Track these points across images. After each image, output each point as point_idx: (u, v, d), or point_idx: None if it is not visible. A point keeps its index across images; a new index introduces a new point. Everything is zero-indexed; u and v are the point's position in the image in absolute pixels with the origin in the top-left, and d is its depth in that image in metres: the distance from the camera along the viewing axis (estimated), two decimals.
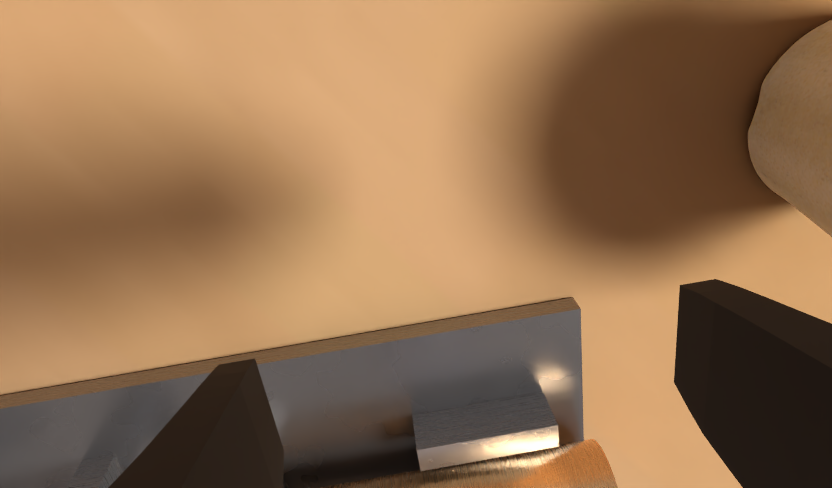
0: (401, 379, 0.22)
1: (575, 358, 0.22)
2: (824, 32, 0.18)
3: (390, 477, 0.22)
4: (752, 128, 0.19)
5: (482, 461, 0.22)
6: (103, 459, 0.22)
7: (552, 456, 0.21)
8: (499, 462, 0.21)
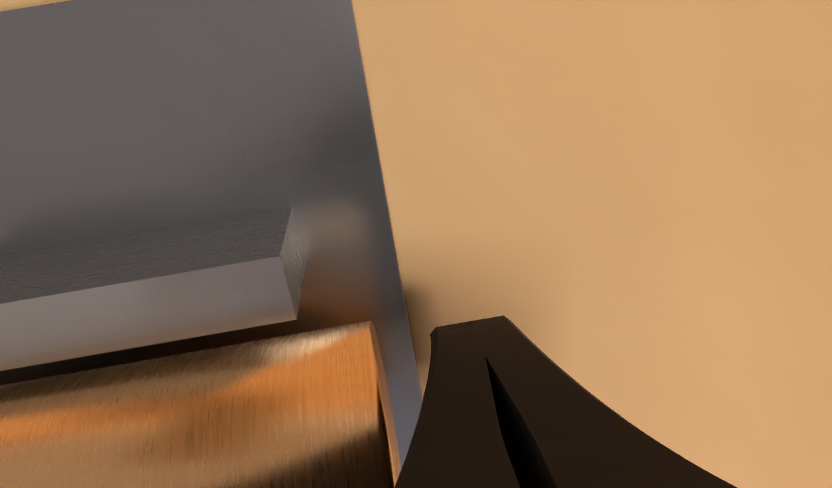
0: None
1: (356, 114, 0.09)
2: None
3: None
4: None
5: (87, 370, 0.09)
6: None
7: (241, 353, 0.08)
8: (114, 370, 0.09)
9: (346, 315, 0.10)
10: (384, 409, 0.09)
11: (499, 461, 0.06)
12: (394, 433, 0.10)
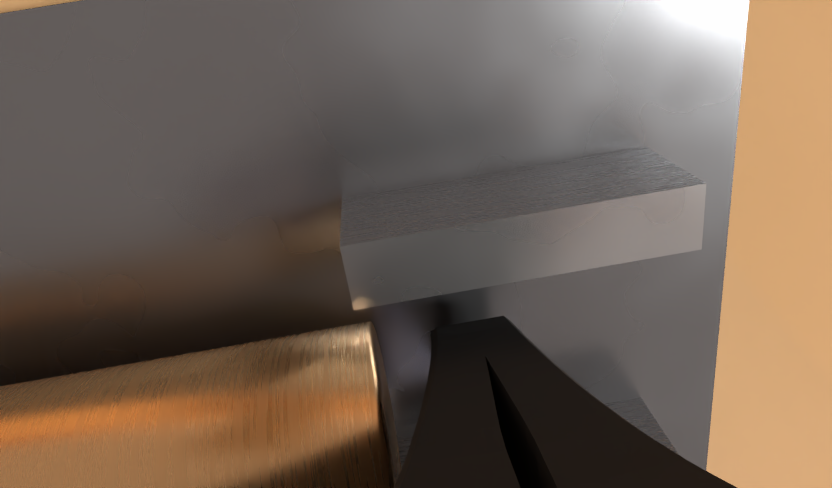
0: (310, 94, 0.09)
1: (729, 52, 0.09)
2: None
3: None
4: None
5: (88, 371, 0.09)
6: None
7: (242, 353, 0.08)
8: (115, 370, 0.09)
9: (669, 259, 0.11)
10: (384, 410, 0.09)
11: (499, 461, 0.06)
12: (394, 434, 0.10)
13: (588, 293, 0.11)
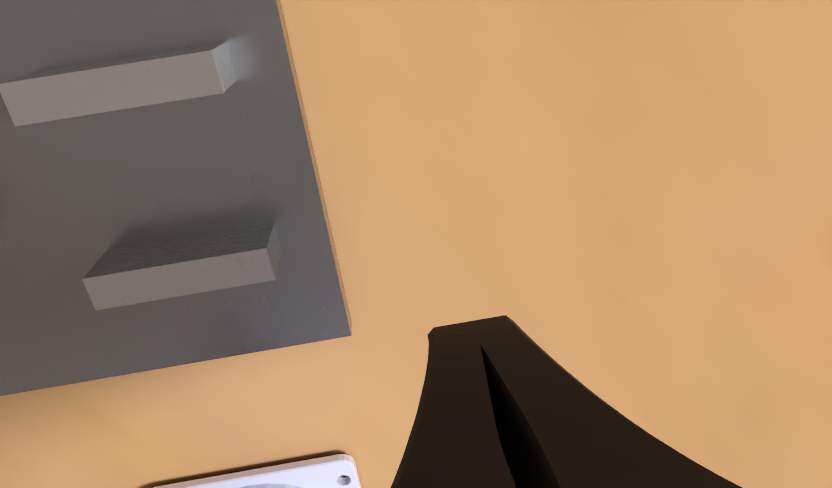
0: (0, 3, 0.15)
1: None
2: None
3: None
4: None
5: None
6: None
7: None
8: None
9: (264, 120, 0.16)
10: None
11: (495, 462, 0.06)
12: None
13: (215, 142, 0.17)
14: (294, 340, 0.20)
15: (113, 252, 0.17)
